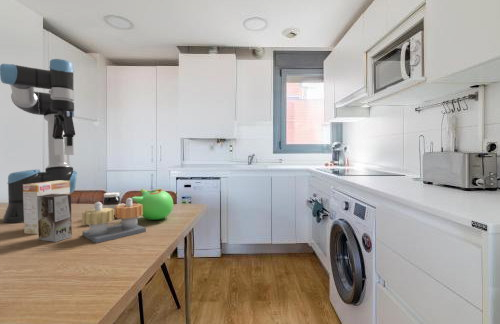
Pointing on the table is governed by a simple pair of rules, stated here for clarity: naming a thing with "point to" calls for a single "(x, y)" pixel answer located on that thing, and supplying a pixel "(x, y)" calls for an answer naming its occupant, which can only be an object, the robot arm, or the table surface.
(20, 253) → the table surface
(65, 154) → the robot arm
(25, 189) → the coffeecake box
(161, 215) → the green teapot
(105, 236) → the gear board
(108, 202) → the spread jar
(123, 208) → the orange gear
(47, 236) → the coffee box
